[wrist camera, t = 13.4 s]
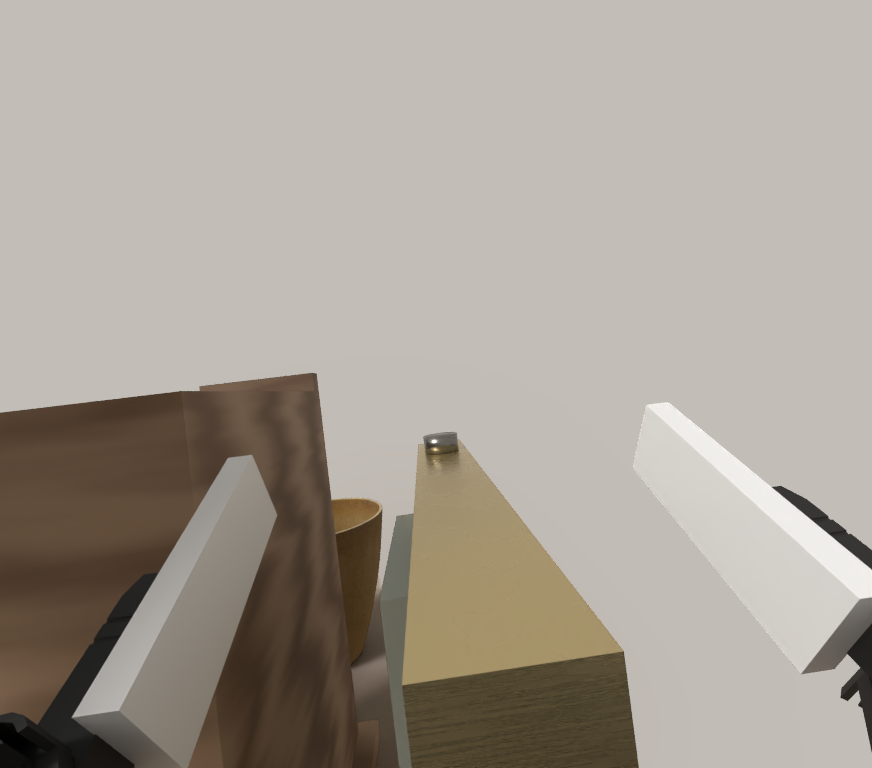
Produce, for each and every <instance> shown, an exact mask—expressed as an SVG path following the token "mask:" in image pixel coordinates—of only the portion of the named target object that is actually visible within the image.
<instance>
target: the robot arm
mask: <svg viewBox="0 0 872 768" xmlns="http://www.w3.org/2000/svg"><path fill="white" fill-rule="evenodd" d="M632 468H633V469H634V470H635V472H636V473H637V474H638V475H639V476H640V478H641V479H642V480H643V481H644V483H645V484H646V485H647V486H648V487H649V489H650V490H651V491H652V492H653V494H654V495H655V496H656V497H657V498H658V500H659V501H660V502H661V503H662V505H663V506H664V507H665V508H666V510H667V511H668V512H669V513H670V514H671V516H672V517H673V518H674V519H675V521H676V522H677V523H678V524H679V525H680V527H681V528H682V529H683V530H684V532H685V533H686V534H687V535H688V536H689V538H690V539H691V540H692V541H693V543H694V544H695V545H696V546H697V547H698V549H699V550H700V551H701V552H702V554H703V555H704V556H705V557H706V559H707V560H708V561H709V562H710V563H711V565H712V566H713V567H714V568H715V570H716V571H717V572H718V573H719V574H720V576H721V577H722V578H723V579H724V581H725V582H726V583H727V584H728V586H729V587H730V588H731V589H732V590H733V592H734V593H735V594H736V595H737V597H738V598H739V599H740V600H741V602H742V603H743V604H744V605H745V606H746V608H747V609H748V610H749V611H750V612H751V614H752V615H753V616H754V617H755V619H756V620H757V621H758V622H759V623H760V625H761V626H762V627H763V628H764V630H765V631H766V632H767V633H768V635H769V636H770V637H771V638H772V640H773V641H774V642H775V643H776V644H777V646H778V647H779V648H780V649H781V651H782V652H783V653H784V654H785V655H786V657H787V658H788V659H789V660H790V661H791V663H792V664H793V665H794V667H795V668H796V669H797V670H798V671H799V672H800V674H805V673H811V672H818V671H824V670H831V669H835V668H836V666H837V665H838V664H839V663H840V662H841V661H842V660H843V658H844V657H845V656H846V655H847V654H848V655H849V656H850V657H851V658H852V659H853V660H854V661H855V662H856V663H857V664H858V665H859V666H860V667H861V668H860V669H859V670H858V671H857V672H856V673H855V674H854V675H853V676H852V677H851V679H850V680H849V681H848V682H847V683H846V684H845V685H844V686H843V687H842V689H841V698H843V699H845V700H847V701H848V700H849V699H850V698H851V697H852V696H853V695H854V694H855V693H856V692H857V691H858V690H859V694H860V698H861V701H860V703H859V704H858V705H859V706H860V707H862V708H863V712H864V717H865V722H866V727H867V731H868V736H869V741H870V745H871V750H872V550H871V549H869V548H868V547H867V546H866V545H864V544H863V543H862V542H861V541H859V540H858V539H857V538H855V537H854V536H853V535H852V534H848V533H847V532H846V530H845V529H844V528H843V527H841V526H840V525H839V524H838V523H836V522H835V521H834V520H830V519H829V518H828V516H827V515H826V514H825V513H824V512H822V511H821V510H820V509H818V508H817V507H816V506H815V505H813V504H812V503H811V502H809V501H808V500H807V499H805V498H803V497H801V496H799V495H797V494H795V493H793V492H792V491H790V490H788V489H786V488H784V487H782V486H777V487H771V486H769V485H768V484H767V483H765V481H763V480H762V479H761V478H760V477H758V476H757V475H756V474H755V473H754V472H752V471H751V470H750V469H749V468H748V467H746V466H745V465H744V464H743V463H741V462H740V461H739V460H738V459H737V458H735V457H734V456H733V455H732V454H731V453H729V452H728V451H727V450H726V449H724V448H723V447H722V446H721V445H720V444H718V443H717V442H716V441H715V440H713V439H712V438H711V437H710V436H709V435H707V434H706V433H705V432H704V431H703V430H701V429H700V428H699V427H697V426H696V425H695V424H694V423H693V422H692V421H690V420H689V419H688V418H687V417H685V416H684V415H683V414H682V413H681V412H679V411H678V410H677V409H676V408H675V407H673V406H672V405H671V404H670V403H669V402H666V403H658V404H650V405H646V408H645V412H644V417H643V422H642V426H641V430H640V435H639V439H638V444H637V449H636V453H635V458H634V462H633V467H632ZM276 517H277V513H276V511H275V508H274V506H273V503H272V501H271V499H270V496H269V494H268V491H267V489H266V487H265V484H264V482H263V479H262V477H261V475H260V472H259V470H258V468H257V465H256V463H255V460H254V458H253V456H252V455H247V456H239V457H231V458H228V459H227V460H226V462H225V464H224V465H223V467H222V469H221V470H220V472H219V474H218V475H217V477H216V479H215V480H214V482H213V484H212V485H211V487H210V489H209V490H208V492H207V494H206V495H205V497H204V499H203V500H202V502H201V504H200V505H199V507H198V509H197V510H196V512H195V514H194V515H193V517H192V519H191V520H190V522H189V524H188V525H187V527H186V529H185V530H184V532H183V534H182V535H181V537H180V539H179V540H178V542H177V543H176V545H175V547H174V548H173V550H172V552H171V553H170V555H169V557H168V558H167V560H166V562H165V563H164V565H163V567H162V568H161V570H160V572H158V573H151V574H144V575H143V576H142V577H141V578H140V579H139V580H138V581H136V582H135V583H134V584H133V585H132V586H131V587H130V588H129V589H128V590H127V591H126V592H125V593H124V594H123V595H122V597H121V598H120V600H119V601H118V603H117V604H116V606H115V607H114V609H113V610H112V612H111V613H110V615H109V616H108V618H107V622H106V624H103V625H102V627H101V629H100V630H99V632H98V633H97V635H96V636H95V638H94V642H93V644H90V645H89V647H88V648H87V650H86V651H85V653H84V654H83V656H82V657H81V659H80V660H79V662H78V664H77V665H76V667H75V668H74V670H73V671H72V673H71V674H70V676H69V677H68V679H67V680H66V682H65V683H64V685H63V686H62V688H61V689H60V691H59V692H58V694H57V695H56V697H55V699H54V700H53V702H52V703H51V705H50V706H49V708H48V709H47V711H46V712H45V714H44V715H43V717H42V718H41V720H40V721H39V723H38V724H35V723H34V722H33V721H31V720H30V719H28V718H27V717H25V716H24V715H21V714H17V713H14V712H10V713H7V714H3V715H0V768H134V767H135V768H188V766H189V763H190V760H191V757H192V754H193V751H194V749H195V746H196V743H197V740H198V737H199V734H200V732H201V729H202V726H203V723H204V720H205V718H206V715H207V712H208V709H209V706H210V703H211V701H212V698H213V695H214V692H215V689H216V686H217V684H218V681H219V678H220V675H221V672H222V670H223V667H224V664H225V661H226V658H227V655H228V653H229V650H230V647H231V644H232V641H233V638H234V636H235V633H236V630H237V627H238V624H239V621H240V619H241V616H242V613H243V610H244V607H245V605H246V602H247V599H248V596H249V593H250V590H251V588H252V585H253V582H254V579H255V576H256V573H257V571H258V568H259V565H260V562H261V559H262V556H263V554H264V551H265V548H266V545H267V542H268V540H269V537H270V534H271V531H272V528H273V525H274V523H275V520H276Z"/></svg>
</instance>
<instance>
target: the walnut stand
mask: <svg viewBox="0 0 872 768" xmlns="http://www.w3.org/2000/svg"><path fill="white" fill-rule="evenodd" d="M247 455H252V456H253V458H254V460H255V463H256V465H257V468H258V470H259V472H260V475H261V477H262V479H263V482H264V484H265V487H266V489H267V491H268V494H269V496H270V499H271V501H272V503H273V506H274V508H275V511H276V513H277V517H276V520H275V523H274V525H273V528H272V531H271V534H270V537H269V540H268V542H267V545H266V548H265V551H264V554H263V556H262V559H261V562H260V565H259V568H258V571H257V573H256V576H255V579H254V582H253V585H252V588H251V590H250V593H249V596H248V599H247V602H246V605H245V607H244V610H243V613H242V616H241V619H240V621H239V624H238V627H237V630H236V633H235V636H234V638H233V641H232V644H231V647H230V650H229V653H228V655H227V658H226V661H225V664H224V667H223V670H222V672H221V675H220V678H219V681H218V684H217V686H216V689H215V692H214V695H213V698H212V701H211V703H210V706H209V709H208V712H207V715H206V718H205V720H204V723H203V726H202V729H201V732H200V734H199V737H198V740H197V743H196V746H195V749H194V751H193V754H192V757H191V760H190V763H189V766H188V768H376V766H377V757H378V749H379V741H380V732H379V723H378V719H374V720H367V721H361V722H357V715H356V706H355V698H354V689H353V681H352V672H351V664H350V655H349V646H348V638H347V629H346V621H345V612H344V604H343V595H342V587H341V578H340V570H339V561H338V553H337V544H336V536H335V527H334V519H333V510H332V502H331V493H330V484H329V477H328V467H327V459H326V450H325V442H324V433H323V426H322V416H321V408H320V399H319V391H318V382H317V374H315V373H308V374H300V375H291V376H283V377H275V378H266V379H258V380H249V381H241V382H232V383H224V384H216V385H208V386H200V391H179V392H171V393H163V394H155V395H147V396H137V397H129V398H121V399H113V400H105V401H95V402H87V403H79V404H70V405H63V406H54V407H45V408H37V409H29V410H20V411H12V412H3V413H0V715H3V714H7V713H10V712H14V713H17V714H21V715H24V716H25V717H27V718H28V719H30V720H31V721H33V722H34V723H35V724H38V723H39V721H40V720H41V718H42V717H43V715H44V714H45V712H46V711H47V709H48V708H49V706H50V705H51V703H52V702H53V700H54V699H55V697H56V695H57V694H58V692H59V691H60V689H61V688H62V686H63V685H64V683H65V682H66V680H67V679H68V677H69V676H70V674H71V673H72V671H73V670H74V668H75V667H76V665H77V664H78V662H79V660H80V659H81V657H82V656H83V654H84V653H85V651H86V650H87V648H88V647H89V645H90V644H93V642H94V638H95V636H96V635H97V633H98V632H99V630H100V629H101V627H102V625H103V624H106V622H107V618H108V616H109V615H110V613H111V612H112V610H113V609H114V607H115V606H116V604H117V603H118V601H119V600H120V598H121V597H122V595H123V594H124V593H125V592H126V591H127V590H128V589H129V588H130V587H131V586H132V585H133V584H134V583H135V582H136V581H138V580H139V579H140V578H141V577H142V576H143V575H144V574H151V573H158V572H160V570H161V568H162V567H163V565H164V563H165V562H166V560H167V558H168V557H169V555H170V553H171V552H172V550H173V548H174V547H175V545H176V543H177V542H178V540H179V539H180V537H181V535H182V534H183V532H184V530H185V529H186V527H187V525H188V524H189V522H190V520H191V519H192V517H193V515H194V514H195V512H196V510H197V509H198V507H199V505H200V504H201V502H202V500H203V499H204V497H205V495H206V494H207V492H208V490H209V489H210V487H211V485H212V484H213V482H214V480H215V479H216V477H217V475H218V474H219V472H220V470H221V469H222V467H223V465H224V464H225V462H226V460H227V459H228V458H231V457H239V456H247ZM134 768H135V767H134Z"/></svg>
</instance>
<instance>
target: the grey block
mask: <svg viewBox="0 0 872 768" xmlns="http://www.w3.org/2000/svg"><path fill="white" fill-rule="evenodd" d="M413 516H414V514H408V515H401V516H397V517H396V522H395V527H394V532H393V537H392V542H391V547H390V552H389V556H388V561H387V566H386V571H385V576H384V581H383V585H382V590H381V595H380V600H379V602H380V610H381V618H382V627H383V635H384V644H385V652H386V660H387V669H388V677H389V686H390V694H391V703H392V711H393V719H394V728H395V736H396V745H397V753H398V762H399V768H412V765H411V757H410V749H409V740H408V732H407V724H406V715H405V707H404V698H403V690H402V677H403V662H404V648H405V633H406V619H407V604H408V589H409V575H410V560H411V546H412V531H413Z"/></svg>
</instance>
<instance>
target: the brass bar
mask: <svg viewBox="0 0 872 768" xmlns="http://www.w3.org/2000/svg"><path fill="white" fill-rule="evenodd" d="M423 438H424V444H420V445H418V458H417V473H416V488H415V502H414V516H413V531H412V546H411V560H410V575H409V589H408V604H407V619H406V633H405V648H404V662H403V677H402V690H403V698H404V707H405V715H406V724H407V732H408V740H409V749H410V757H411V765H412V768H638V759H637V751H636V743H635V735H634V728H633V720H632V712H631V704H630V696H629V689H628V681H627V673H626V665H625V658H624V651H623V650H622V649H621V647H620V646H619V645H618V643H617V642H616V641H615V640H614V638H613V637H612V636H611V634H610V633H609V632H608V630H607V629H606V628H605V627H604V625H603V624H602V623H601V621H600V620H599V619H598V618H597V616H596V615H595V614H594V612H593V611H592V610H591V609H590V607H589V606H588V605H587V603H586V602H585V601H584V600H583V598H582V597H581V596H580V594H579V593H578V592H577V591H576V589H575V588H574V587H573V585H572V584H571V583H570V582H569V580H568V579H567V578H566V576H565V575H564V574H563V573H562V571H561V570H560V569H559V567H558V566H557V565H556V563H555V562H554V561H553V560H552V558H551V557H550V556H549V555H548V553H547V552H546V551H545V549H544V548H543V547H542V545H541V544H540V543H539V542H538V540H537V539H536V538H535V536H534V535H533V534H532V533H531V531H530V530H529V529H528V527H527V526H526V525H525V524H524V522H523V521H522V520H521V518H520V517H519V516H518V514H517V513H516V512H515V511H514V509H513V508H512V507H511V505H510V504H509V503H508V502H507V500H506V499H505V498H504V496H503V495H502V494H501V493H500V491H499V490H498V489H497V487H496V486H495V485H494V484H493V482H492V481H491V480H490V479H489V477H488V476H487V475H486V473H485V472H484V471H483V470H482V468H481V467H480V466H479V464H478V463H477V462H476V460H475V459H474V458H473V456H472V455H471V454H470V453H469V451H468V450H467V449H466V447H465V446H464V445H463V444H462V442H461V441H460V440H457V433H456V432H445V433H436V434H430V435H426V436H424V437H423Z"/></svg>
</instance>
